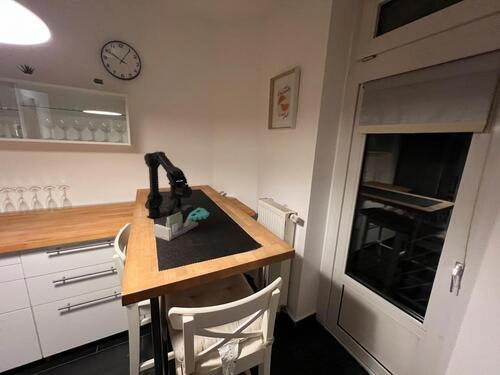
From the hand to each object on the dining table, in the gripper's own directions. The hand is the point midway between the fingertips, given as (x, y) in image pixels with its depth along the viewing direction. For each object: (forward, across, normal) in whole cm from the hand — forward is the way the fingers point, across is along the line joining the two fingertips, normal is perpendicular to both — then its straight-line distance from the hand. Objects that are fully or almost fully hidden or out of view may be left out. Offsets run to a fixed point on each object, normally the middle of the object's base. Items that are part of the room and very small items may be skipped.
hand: (177, 221), depth 113 cm
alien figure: (+6, -8, +22) cm, 24 cm away
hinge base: (+5, 0, 0) cm, 5 cm away
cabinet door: (+4, 0, 0) cm, 4 cm away
